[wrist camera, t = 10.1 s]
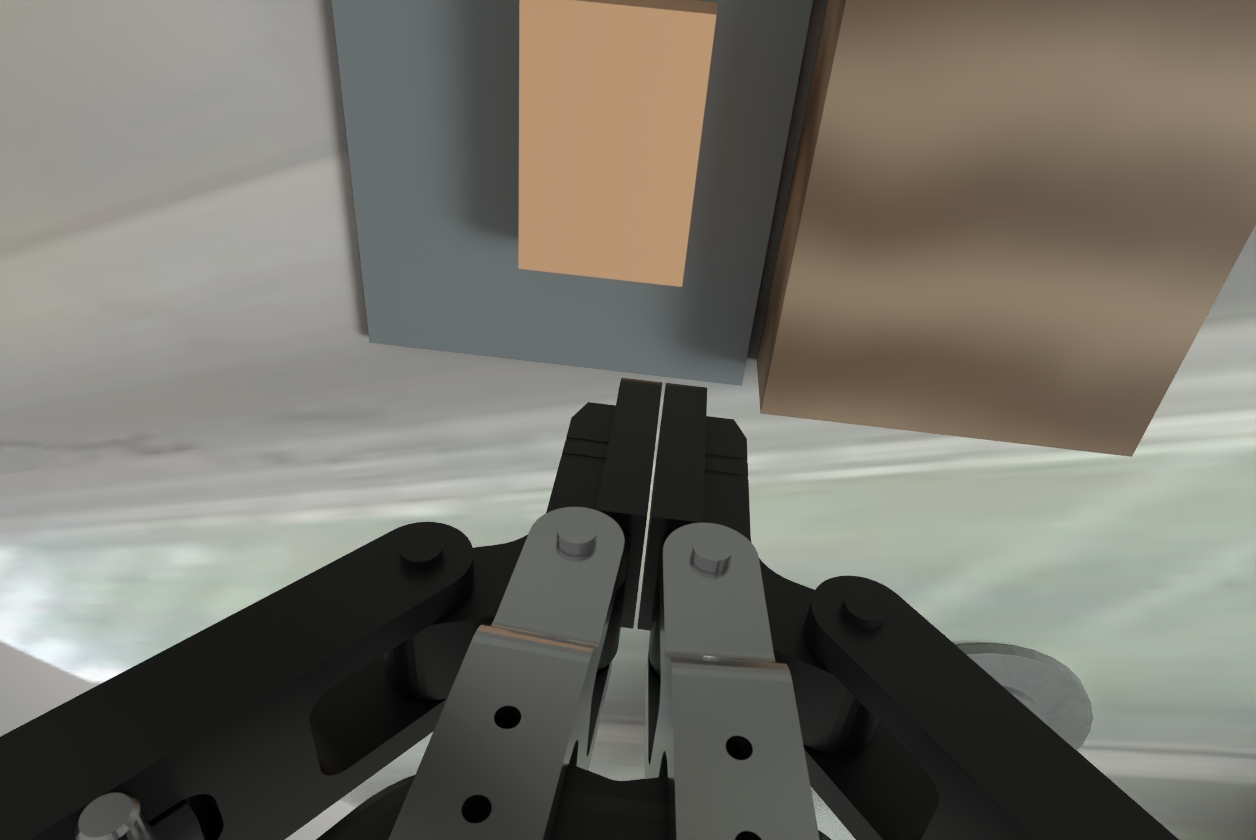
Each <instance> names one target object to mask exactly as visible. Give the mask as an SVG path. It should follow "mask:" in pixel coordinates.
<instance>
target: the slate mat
mask: <svg viewBox="0 0 1256 840" xmlns="http://www.w3.org/2000/svg"><path fill="white" fill-rule="evenodd" d="M331 1H332V10H333V19H334V28H335V37H336V46H337V55H338V64H339V73H340V82H341V91H342V100H343V109H344V118H345V127H346V136H347V145H348V154H349V163H350V172H351V181H352V190H353V199H354V208H355V217H356V226H357V235H358V244H359V253H360V262H361V271H362V280H363V289H364V298H365V307H366V316H367V325H368V334H369V342H370V343H379V344H387V345H396V346H405V347H413V348H422V349H431V350H439V351H448V352H456V353H465V354H474V355H482V356H491V357H500V358H508V359H517V360H526V361H534V362H543V363H551V364H560V365H569V366H577V367H586V368H595V369H603V370H612V371H621V372H629V373H638V374H646V375H655V376H664V377H672V378H681V379H690V380H698V381H707V382H715V383H724V384H733V385H741V386H742V380H743V375H744V370H745V364H746V359H747V353H748V348H749V343H750V337H751V332H752V327H753V321H754V316H755V310H756V305H757V300H758V294H759V289H760V284H761V278H762V273H763V268H764V262H765V257H766V251H767V246H768V241H769V235H770V230H771V225H772V219H773V214H774V208H775V203H776V198H777V192H778V187H779V182H780V176H781V171H782V166H783V160H784V155H785V149H786V144H787V139H788V133H789V128H790V123H791V117H792V112H793V106H794V101H795V96H796V90H797V85H798V80H799V74H800V69H801V64H802V58H803V53H804V47H805V42H806V37H807V31H808V26H809V21H810V15H811V10H812V4H813V0H697V1H707V2H717V15H716V23H715V31H714V39H713V47H712V55H711V63H710V71H709V79H708V86H707V94H706V102H705V110H704V118H703V126H702V134H701V142H700V150H699V158H698V165H697V173H696V181H695V189H694V197H693V205H692V213H691V221H690V229H689V237H688V244H687V252H686V260H685V268H684V276H683V284H682V287H678V286H669V285H660V284H651V283H642V282H633V281H624V280H615V279H606V278H597V277H588V276H579V275H570V274H561V273H552V272H543V271H534V270H525V269H518V257H519V1H520V0H331Z"/></svg>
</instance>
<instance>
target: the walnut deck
mask: <svg viewBox="0 0 1256 840" xmlns="http://www.w3.org/2000/svg"><path fill="white" fill-rule="evenodd" d="M1255 224H1256V0H827V3H826V8H825V13H824V18H823V23H822V29H821V34H820V39H819V44H818V49H817V54H816V59H815V64H814V70H813V75H812V80H811V85H810V90H809V95H808V100H807V106H806V111H805V116H804V121H803V126H802V131H801V136H800V141H799V147H798V152H797V157H796V162H795V167H794V172H793V177H792V183H791V188H790V193H789V198H788V203H787V208H786V213H785V219H784V224H783V229H782V234H781V239H780V244H779V249H778V254H777V260H776V265H775V270H774V275H773V280H772V285H771V290H770V296H769V301H768V306H767V311H766V316H765V321H764V326H763V331H762V337H761V342H760V347H759V352H758V357H757V370H758V383H759V396H760V410H761V413H763V414H772V415H780V416H789V417H797V418H806V419H814V420H823V421H832V422H840V423H849V424H857V425H866V426H874V427H883V428H891V429H900V430H909V431H917V432H926V433H934V434H943V435H951V436H960V437H969V438H977V439H986V440H994V441H1003V442H1011V443H1020V444H1029V445H1037V446H1046V447H1054V448H1063V449H1071V450H1080V451H1089V452H1097V453H1106V454H1114V455H1123V456H1131V457H1132V455H1133V453H1134V451H1135V450H1136V448H1137V446H1138V444H1139V442H1140V440H1141V438H1142V436H1143V435H1144V433H1145V431H1146V429H1147V427H1148V425H1149V423H1150V421H1151V420H1152V418H1153V416H1154V414H1155V412H1156V410H1157V408H1158V406H1159V405H1160V403H1161V401H1162V399H1163V397H1164V395H1165V393H1166V391H1167V390H1168V388H1169V386H1170V384H1171V382H1172V380H1173V378H1174V376H1175V375H1176V373H1177V371H1178V369H1179V367H1180V365H1181V363H1182V361H1183V360H1184V358H1185V356H1186V354H1187V352H1188V350H1189V348H1190V346H1191V345H1192V343H1193V341H1194V339H1195V337H1196V335H1197V333H1198V331H1199V330H1200V328H1201V326H1202V324H1203V322H1204V320H1205V318H1206V316H1207V315H1208V313H1209V311H1210V309H1211V307H1212V305H1213V303H1214V301H1215V300H1216V298H1217V296H1218V294H1219V292H1220V290H1221V288H1222V286H1223V284H1224V283H1225V281H1226V279H1227V277H1228V275H1229V273H1230V271H1231V269H1232V268H1233V266H1234V264H1235V262H1236V260H1237V258H1238V256H1239V254H1240V253H1241V251H1242V249H1243V247H1244V245H1245V243H1246V241H1247V239H1248V238H1249V236H1250V234H1251V232H1252V230H1253V228H1254V226H1255Z"/></svg>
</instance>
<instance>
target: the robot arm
mask: <svg viewBox="0 0 1256 840" xmlns="http://www.w3.org/2000/svg"><path fill="white" fill-rule="evenodd" d="M661 389H662V383H661V382H653V381H644V380H636V379H627V378H621V382H620V387H619V393H618V398H617V403H616V406H615V405H606V404H598V403H590V402H588V403H587V404H586V405H585V406H584V407H583V408H582V409H581V410H579V411H578V412H577V413H576V414H575V415H574V416H573V417H572V419H571V422H570V426H569V430H568V434H567V438H566V441H565V445H564V449H563V452H562V457H561V460H560V464H559V467H558V471H557V475H556V479H555V482H554V486H553V490H552V494H551V497H550V501H549V505H548V509H547V512H546V514H544V515H543V516H541V517H540V518H539V519H538V520H537V521H536V522H535V523H534V524H533V525H532V527H531V529H530V531H529V534H528V535H526V536H524V537H523V538H520V539H518V540H515V541H512V542H509V543H505V544H499V545H492V546H483V547H475V548H472V545H471V542H470V541H469V539H468V538H467V537H466V536H465V535H464V534H463V533H462V532H461V531H459V530H458V529H456V528H454V527H452V526H449V525H446V524H442V523H436V522H418V523H413V524H408V525H405V526H402V527H399V528H397V529H395V530H393V531H391V532H389V533H387V534H385V535H383V536H381V537H379V538H377V539H375V540H374V541H372V542H370V543H368V544H366V545H364V546H362V547H360V548H358V549H356V550H355V551H353V552H351V553H349V554H347V555H345V556H343V557H341V558H339V559H337V560H336V561H334V562H332V563H330V564H328V565H326V566H324V567H322V568H320V569H318V570H317V571H315V572H313V573H311V574H309V575H307V576H305V577H303V578H301V579H299V580H298V581H296V582H294V583H292V584H290V585H288V586H286V587H284V588H282V589H280V590H279V591H277V592H275V593H273V594H271V595H269V596H267V597H265V598H263V599H261V600H259V601H258V602H256V603H254V604H252V605H250V606H248V607H246V608H244V609H242V610H240V611H239V612H237V613H235V614H233V615H231V616H229V617H227V618H225V619H223V620H221V621H220V622H218V623H216V624H214V625H212V626H210V627H208V628H206V629H204V630H202V631H201V632H199V633H197V634H195V635H193V636H191V637H189V638H187V639H185V640H183V641H182V642H180V643H178V644H176V645H174V646H172V647H170V648H168V649H166V650H164V651H163V652H161V653H159V654H157V655H155V656H153V657H151V658H149V659H147V660H145V661H144V662H142V663H140V664H138V665H136V666H134V667H132V668H130V669H128V670H126V671H125V672H123V673H121V674H119V675H117V676H115V677H113V678H111V679H109V680H107V681H105V682H104V683H102V684H100V685H98V686H96V687H94V688H92V689H90V690H88V691H87V692H85V693H83V694H81V695H79V696H77V697H75V698H73V699H72V700H69V701H68V702H66V703H64V704H62V705H60V706H58V707H56V708H54V709H52V710H50V711H48V712H47V713H45V714H43V715H41V716H39V717H37V718H36V719H33V720H31V721H30V722H28V723H26V724H24V725H22V726H20V727H18V728H16V729H14V730H12V731H11V732H9V733H7V734H5V735H3V736H1V737H0V840H284V839H286V838H287V837H289V836H290V835H291V834H293V833H294V832H296V831H297V830H298V829H300V828H301V827H302V826H304V825H305V824H307V823H308V822H309V821H311V820H312V819H313V818H315V817H316V816H318V815H319V814H320V813H322V812H323V811H324V810H326V809H327V808H329V807H330V806H331V805H333V804H334V803H335V802H337V801H338V800H340V799H341V798H342V797H344V796H345V795H346V794H348V793H349V792H351V791H352V790H353V789H355V788H356V787H357V786H359V785H360V784H362V783H363V782H364V781H366V780H367V779H368V778H370V777H371V776H373V775H374V774H375V773H377V772H378V771H379V770H381V769H382V768H384V767H385V766H386V765H388V764H389V763H390V762H392V761H393V760H395V759H396V758H397V757H399V756H400V755H401V754H403V753H404V752H406V751H407V750H408V749H410V748H411V747H412V746H414V745H415V744H417V743H418V742H419V741H421V740H422V739H423V738H425V737H426V736H428V735H429V734H430V733H432V732H433V731H434V732H433V734H432V736H431V739H430V741H429V744H428V746H427V748H426V751H425V753H424V756H423V758H422V760H421V763H420V765H419V768H418V770H417V772H416V775H414V776H411V777H408V778H405V779H403V780H401V781H399V782H397V783H395V784H393V785H391V786H389V787H387V788H385V789H383V790H382V791H380V792H379V793H377V794H375V795H374V796H372V797H370V798H369V799H367V800H366V801H365V802H363V803H362V804H361V805H359V806H358V807H357V808H355V809H354V810H353V811H352V812H350V813H349V814H348V815H347V816H345V817H344V818H343V819H342V820H340V821H339V822H338V823H337V824H335V825H334V826H333V827H332V828H330V829H329V830H328V831H326V832H325V833H324V834H323V835H321V836H320V837H319V838H318V839H316V840H831V839H830V838H829V837H827V836H826V835H825V834H823V833H822V832H820V831H819V830H818V827H817V821H816V816H815V810H814V804H813V798H812V792H811V787H812V788H813V789H814V790H815V792H816V793H817V794H818V795H819V796H820V797H821V799H822V800H823V801H824V802H825V803H826V805H827V806H828V807H829V808H830V809H831V810H832V812H833V813H834V814H835V815H836V816H837V818H838V819H839V820H840V821H841V822H842V824H843V825H844V826H845V827H846V828H847V829H848V831H849V832H850V833H851V834H852V835H853V837H854V838H855V839H856V840H1178V839H1177V838H1176V837H1175V836H1174V835H1173V834H1172V833H1170V832H1169V831H1168V830H1167V829H1166V828H1165V827H1164V826H1162V825H1161V824H1160V823H1159V822H1158V821H1157V820H1156V819H1154V818H1153V817H1152V816H1151V815H1150V814H1149V813H1148V812H1146V811H1145V810H1144V809H1143V808H1142V807H1141V806H1139V805H1138V804H1137V803H1136V802H1135V801H1134V800H1133V799H1131V798H1130V797H1129V796H1128V795H1127V794H1126V793H1125V792H1123V791H1122V790H1121V789H1120V788H1119V787H1118V786H1117V785H1115V784H1114V783H1113V782H1112V781H1111V780H1110V779H1109V778H1107V777H1106V776H1105V775H1104V774H1103V773H1102V772H1100V771H1099V770H1098V769H1097V768H1096V767H1095V766H1094V765H1092V764H1091V763H1090V762H1089V761H1088V760H1087V759H1086V758H1084V757H1083V756H1082V755H1081V754H1080V753H1079V752H1078V751H1076V750H1075V749H1074V748H1073V747H1072V746H1071V745H1070V744H1068V743H1067V742H1066V741H1065V740H1064V739H1063V738H1061V737H1060V736H1059V735H1058V734H1057V733H1056V732H1055V731H1053V730H1052V729H1051V728H1050V727H1049V726H1048V725H1047V724H1045V723H1044V722H1043V721H1042V720H1041V719H1040V718H1039V717H1037V716H1036V715H1035V714H1034V713H1033V712H1032V711H1031V710H1029V709H1028V708H1027V707H1026V706H1025V705H1024V704H1022V703H1021V702H1020V701H1019V700H1018V699H1017V698H1016V697H1014V696H1013V695H1012V694H1011V693H1010V692H1009V691H1008V690H1006V689H1005V688H1004V687H1003V686H1002V685H1001V684H1000V683H998V682H997V681H996V680H995V679H994V678H993V677H992V676H990V675H989V674H988V673H987V672H986V671H985V670H983V669H982V668H981V667H980V666H979V665H978V664H977V663H975V662H974V661H973V660H972V659H971V658H970V657H969V656H967V655H966V654H965V653H964V652H963V651H962V650H961V649H959V648H958V647H957V646H956V645H955V644H954V643H953V642H951V641H950V640H949V639H948V638H947V637H946V636H944V635H943V634H942V633H941V632H940V631H939V630H938V629H936V628H935V627H934V626H933V625H932V624H931V623H930V622H928V621H927V620H926V619H925V618H924V617H923V616H922V615H920V614H919V613H918V612H917V611H916V610H915V609H913V608H912V607H911V606H910V605H909V604H908V603H907V602H905V601H904V600H903V599H902V598H901V597H900V596H899V595H897V594H896V593H895V592H893V591H892V590H891V589H889V588H888V587H886V586H884V585H882V584H880V583H878V582H876V581H873V580H870V579H867V578H863V577H858V576H839V577H834V578H831V579H828V580H826V581H824V582H823V583H821V584H820V585H819V586H818V587H817V588H816V590H813V589H811V588H808V587H805V586H803V585H800V584H797V583H795V582H792V581H790V580H788V579H785V578H783V577H782V576H780V575H778V574H776V573H775V572H773V571H772V570H771V569H769V568H768V567H767V566H766V565H765V564H764V563H763V562H762V561H761V560H760V559H759V557H758V553H757V551H756V549H755V547H754V546H753V545H752V543H751V537H750V512H749V487H748V463H747V439H746V437H745V436H744V434H743V433H742V431H741V430H740V428H739V427H738V425H737V424H736V422H735V421H734V419H725V418H717V417H708V416H706V407H707V388H705V387H696V386H688V385H679V384H671V383H666V386H665V394H664V402H663V410H662V418H661V426H660V434H659V442H658V450H657V458H656V466H655V474H654V483H653V492H652V501H651V510H650V519H649V528H648V537H647V547H646V556H645V565H644V574H643V583H642V592H641V601H640V610H639V619H638V629H643V630H650V641H649V652H648V659H647V666H646V674H645V779H639V780H630V781H615V780H611V779H608V778H605V777H603V776H600V775H598V774H595V773H593V772H590V771H588V768H589V764H590V760H591V755H592V751H593V747H594V742H595V738H596V734H597V729H598V725H599V721H600V716H601V712H602V708H603V703H604V699H605V695H606V690H607V686H608V682H609V677H610V673H611V666H612V660H613V658H614V657H615V655H616V652H617V649H618V643H619V635H620V628H621V627H626V628H633V626H634V618H635V609H636V601H637V593H638V585H639V577H640V569H641V561H642V553H643V544H644V536H645V528H646V520H647V512H648V503H649V494H650V485H651V477H652V468H653V459H654V450H655V442H656V433H657V424H658V415H659V407H660V398H661ZM810 786H811V787H810Z"/></svg>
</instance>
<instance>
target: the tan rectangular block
mask: <svg viewBox="0 0 1256 840" xmlns="http://www.w3.org/2000/svg"><path fill="white" fill-rule="evenodd" d="M716 15H717V2H707V1H697V0H520V1H519V257H518V269H525V270H534V271H543V272H552V273H561V274H570V275H579V276H588V277H597V278H606V279H615V280H624V281H633V282H642V283H651V284H660V285H669V286H678V287H682V284H683V276H684V268H685V260H686V252H687V244H688V237H689V229H690V221H691V213H692V205H693V197H694V189H695V181H696V173H697V165H698V158H699V150H700V142H701V134H702V126H703V118H704V110H705V102H706V94H707V86H708V79H709V71H710V63H711V55H712V47H713V39H714V31H715V23H716Z"/></svg>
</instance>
